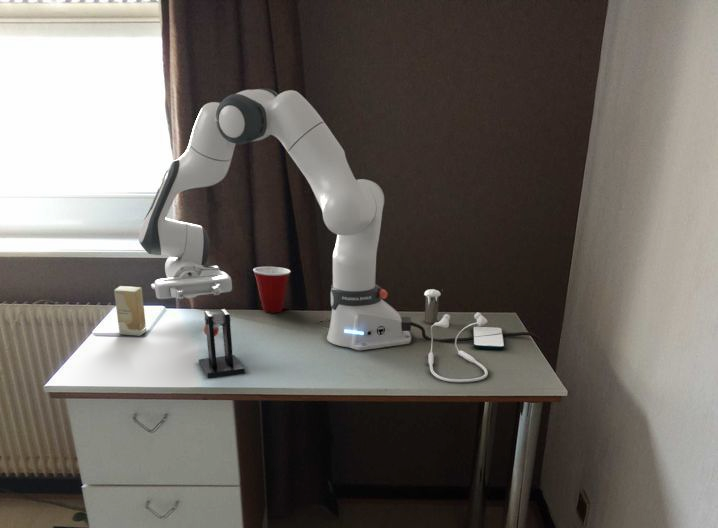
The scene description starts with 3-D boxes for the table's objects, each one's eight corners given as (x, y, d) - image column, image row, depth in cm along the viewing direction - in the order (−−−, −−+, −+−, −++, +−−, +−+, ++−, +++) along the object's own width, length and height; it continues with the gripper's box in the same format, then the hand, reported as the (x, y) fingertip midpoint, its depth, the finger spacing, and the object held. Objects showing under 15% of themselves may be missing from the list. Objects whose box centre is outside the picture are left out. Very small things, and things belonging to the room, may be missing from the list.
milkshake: (440, 325, 212) (443, 289, 207) (421, 323, 213) (423, 288, 208) (442, 320, 216) (444, 285, 211) (423, 319, 217) (425, 284, 212)
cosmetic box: (119, 334, 204) (112, 289, 198) (125, 329, 208) (119, 285, 202) (141, 336, 204) (135, 291, 197) (147, 331, 207) (141, 286, 201)
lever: (204, 339, 188) (201, 325, 188) (218, 337, 189) (215, 323, 189) (212, 327, 175) (209, 311, 175) (227, 325, 177) (224, 310, 176)
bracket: (198, 363, 186) (193, 308, 179) (234, 359, 189) (230, 304, 182) (207, 378, 178) (202, 321, 171) (244, 373, 181) (240, 316, 174)
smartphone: (472, 329, 209) (473, 348, 195) (472, 326, 209) (473, 345, 195) (501, 331, 208) (504, 350, 195) (502, 327, 208) (504, 346, 194)
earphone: (467, 335, 193) (490, 306, 175) (476, 397, 191) (500, 374, 173) (416, 338, 191) (434, 309, 173) (424, 401, 189) (443, 378, 171)
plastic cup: (299, 309, 225) (298, 268, 219) (273, 317, 218) (271, 275, 212) (273, 302, 231) (271, 262, 225) (247, 310, 224) (245, 269, 218)
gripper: (148, 272, 200) (156, 285, 189) (223, 265, 206) (236, 277, 195) (151, 296, 203) (159, 310, 192) (225, 288, 209) (238, 301, 198)
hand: (198, 293), depth 194 cm, fingers open, 8 cm apart
